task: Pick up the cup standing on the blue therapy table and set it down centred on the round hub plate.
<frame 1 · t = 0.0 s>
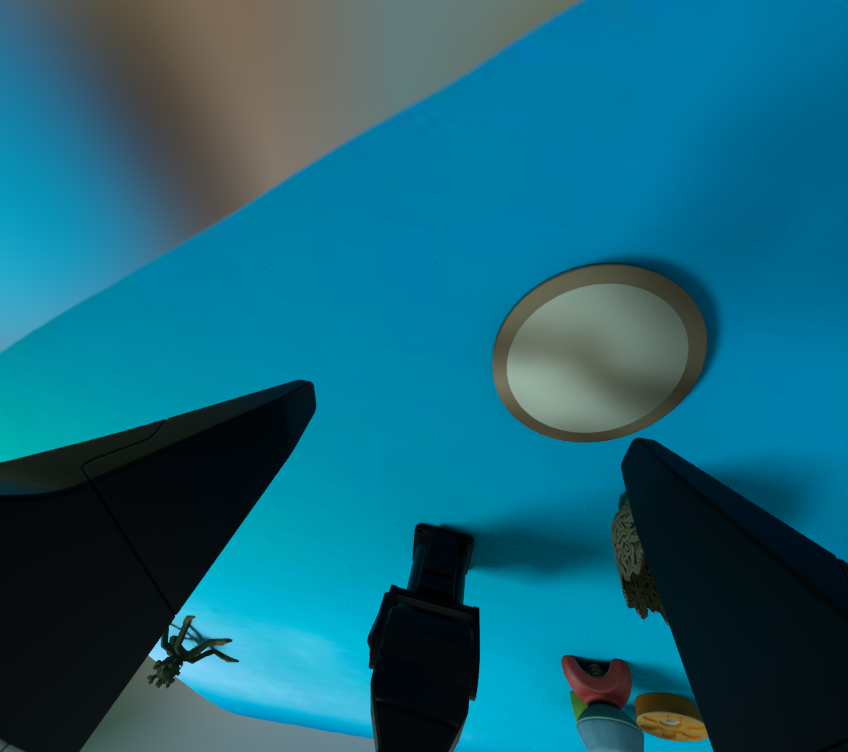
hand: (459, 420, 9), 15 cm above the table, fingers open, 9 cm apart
hub plate: (585, 359, 22), on the table
dark branched piece: (195, 631, 67), on the table
cup: (638, 496, 26), on the table
pair of stacking toys: (618, 685, 41), on the table
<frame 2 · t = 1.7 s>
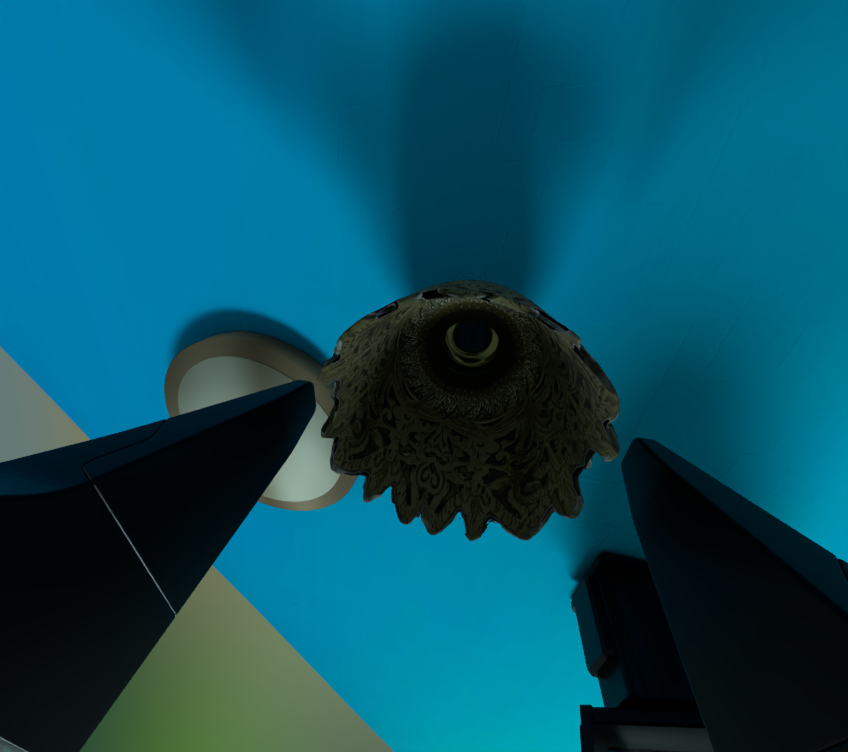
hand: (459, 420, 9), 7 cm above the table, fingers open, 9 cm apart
hub plate: (272, 425, 20), on the table
cup: (472, 334, 15), on the table
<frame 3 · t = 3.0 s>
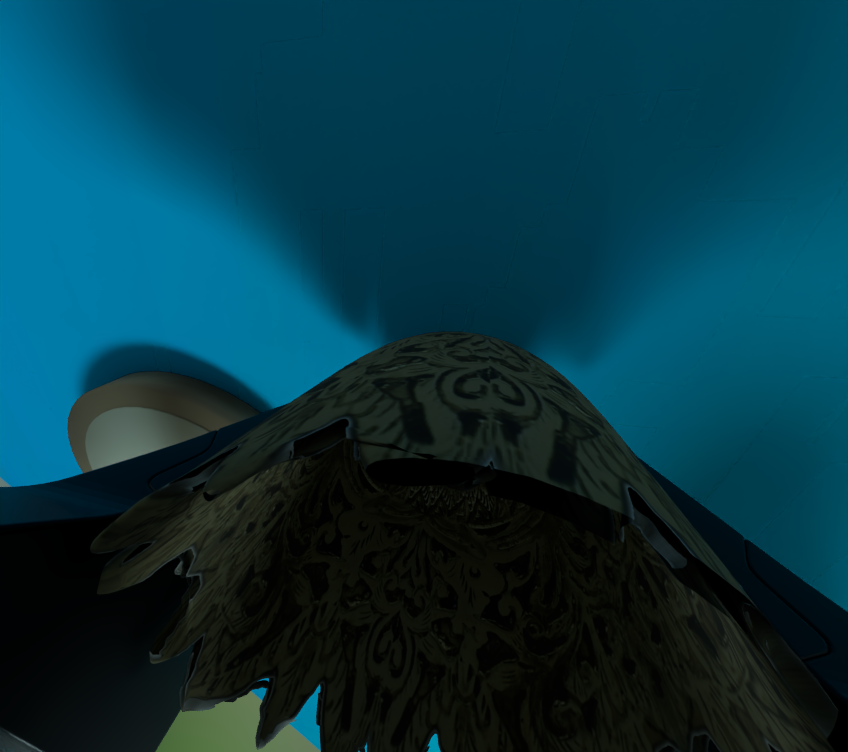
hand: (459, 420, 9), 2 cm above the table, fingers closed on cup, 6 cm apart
hub plate: (213, 483, 16), on the table
cup: (465, 385, 10), on the table, touching gripper
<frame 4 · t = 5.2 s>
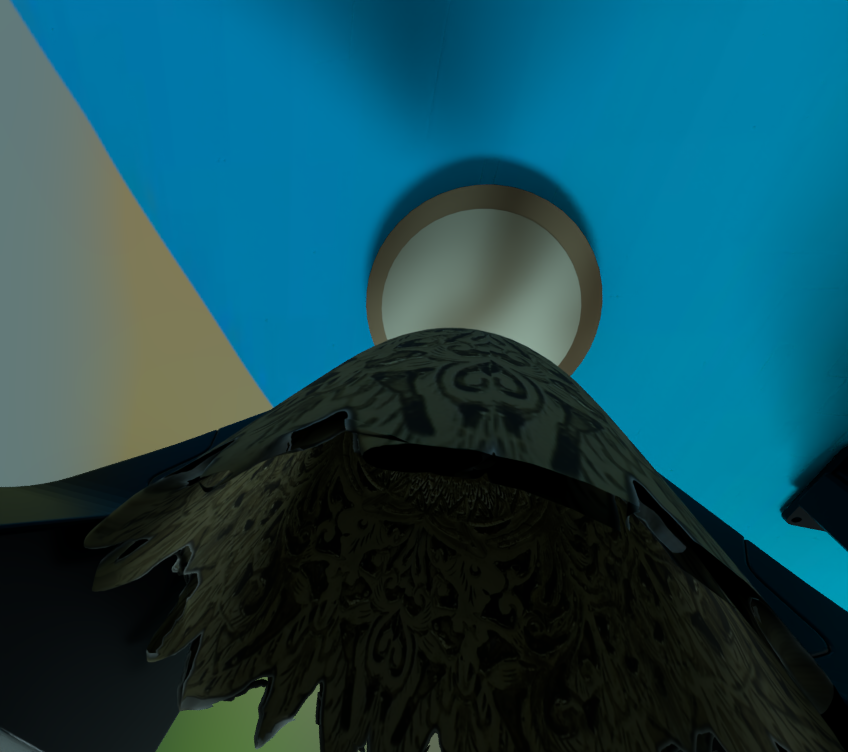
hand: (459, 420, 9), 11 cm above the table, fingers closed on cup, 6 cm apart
hub plate: (475, 313, 18), on the table
cup: (465, 383, 10), point 9 cm above the table, touching gripper
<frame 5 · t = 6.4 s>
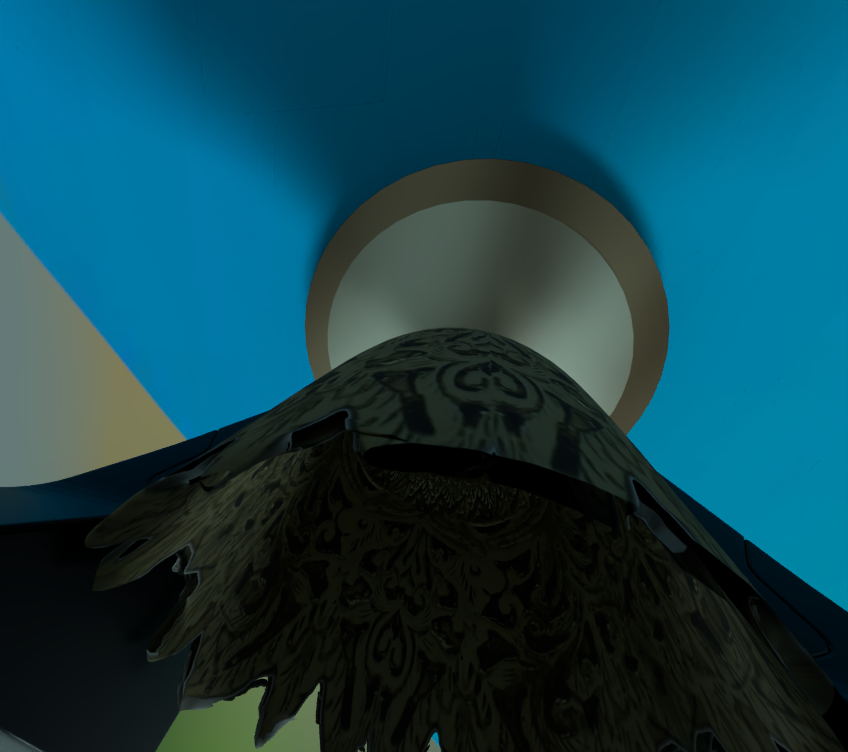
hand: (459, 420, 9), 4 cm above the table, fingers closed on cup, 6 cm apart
hub plate: (467, 356, 13), on the table
cup: (465, 383, 10), point 2 cm above the table, touching gripper
when the fingers open (4 cm above the table, at t = 7.2 s): cup drops 1 cm, resting on hub plate.
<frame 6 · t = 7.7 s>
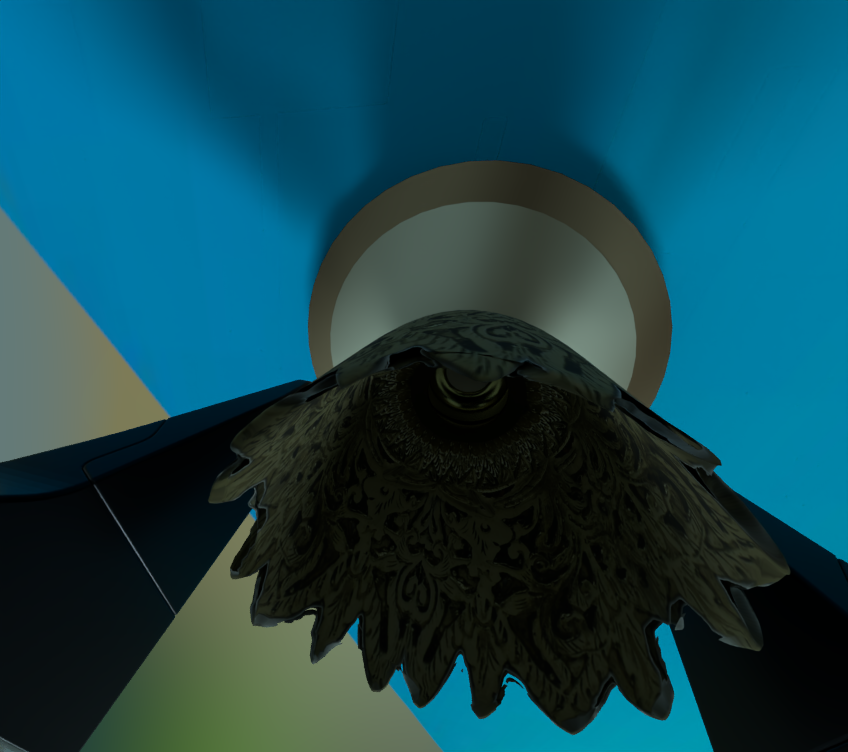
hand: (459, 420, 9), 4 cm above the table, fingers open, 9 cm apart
hub plate: (469, 356, 13), on the table
cup: (468, 369, 11), point 1 cm above the table, touching hub plate
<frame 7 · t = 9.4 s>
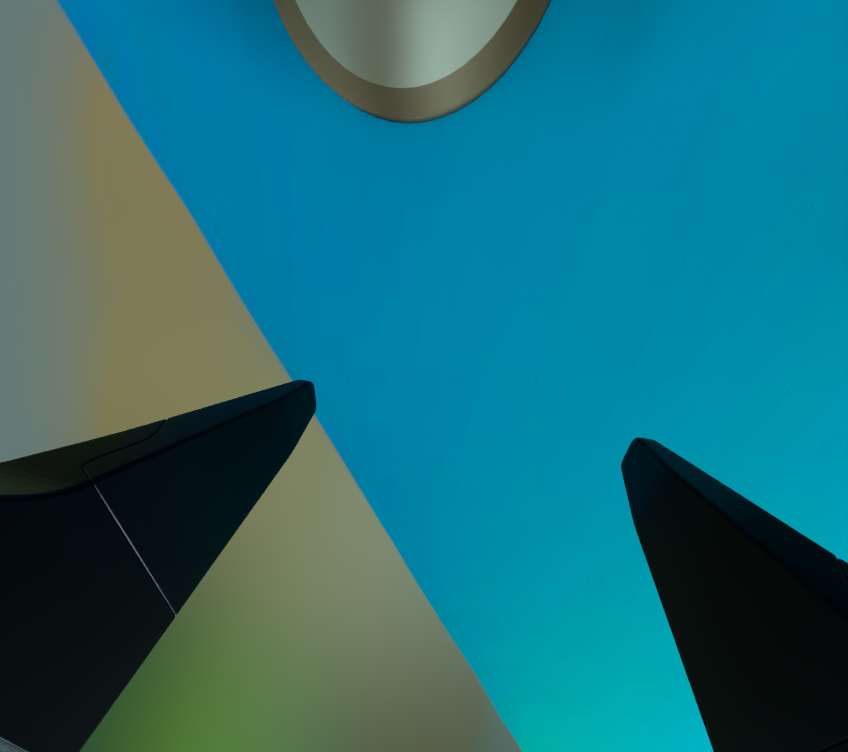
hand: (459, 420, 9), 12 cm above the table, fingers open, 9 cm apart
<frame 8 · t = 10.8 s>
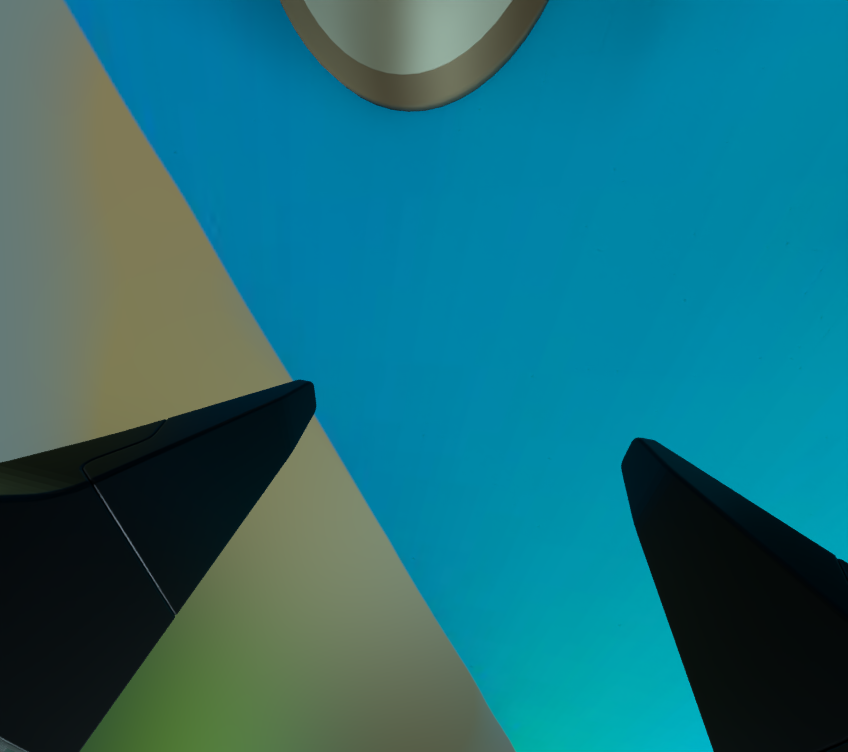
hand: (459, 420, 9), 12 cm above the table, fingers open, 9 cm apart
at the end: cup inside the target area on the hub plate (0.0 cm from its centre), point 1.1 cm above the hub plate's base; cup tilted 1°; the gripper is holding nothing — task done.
